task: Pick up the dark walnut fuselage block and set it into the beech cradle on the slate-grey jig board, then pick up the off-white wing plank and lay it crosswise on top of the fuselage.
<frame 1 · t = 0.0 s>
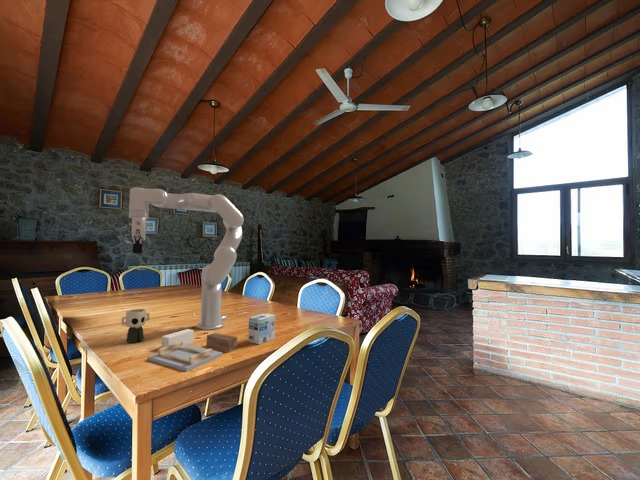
hand: (137, 252, 133), 37 cm above the table, tool pointing down, fingers open, 9 cm apart
wing plank: (178, 345, 121), on the table
jig board: (185, 357, 108), on the table
cradle: (185, 359, 107), resting on jig board
light bulb box: (261, 340, 130), on the table
character mug: (135, 341, 124), on the table
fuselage: (221, 348, 119), on the table
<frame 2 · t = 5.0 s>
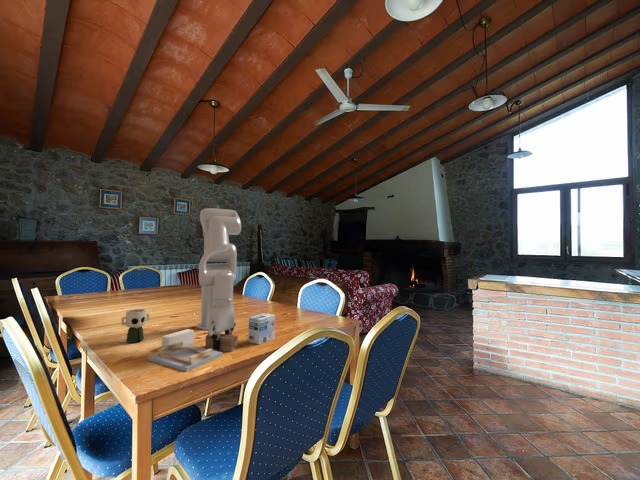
hand: (221, 346, 119), 1 cm above the table, tool pointing down, fingers closed on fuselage, 5 cm apart
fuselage: (221, 348, 119), on the table, touching gripper
everything else where it was.
when the fingers open (3 cm above the table, at t = 9.8 s): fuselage drops 1 cm, resting on jig board.
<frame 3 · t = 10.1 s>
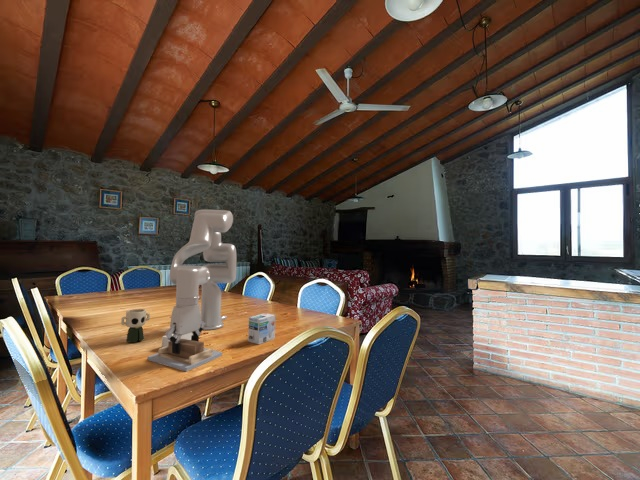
hand: (185, 349, 107), 3 cm above the table, tool pointing down, fingers open, 7 cm apart
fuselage: (185, 355, 107), point 1 cm above the table, touching jig board
everything else where it was.
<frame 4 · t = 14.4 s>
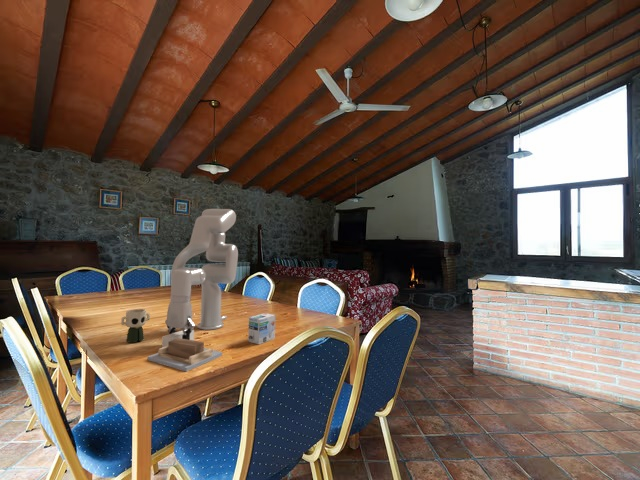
hand: (179, 342, 121), 1 cm above the table, tool pointing down, fingers open, 6 cm apart
nothing on the table moved.
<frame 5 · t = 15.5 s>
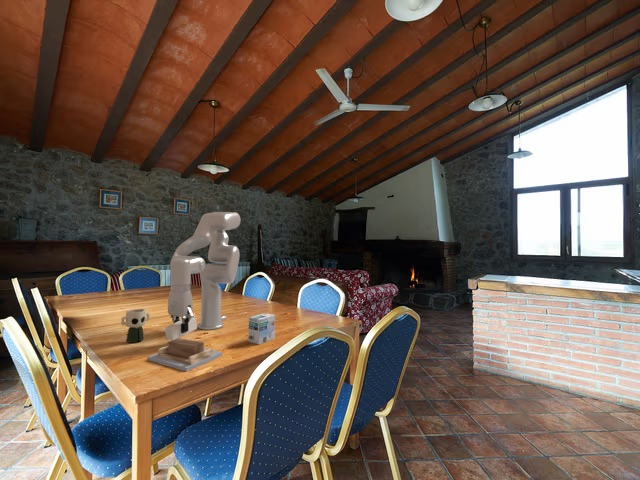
hand: (180, 330, 123), 5 cm above the table, tool pointing down, fingers closed on wing plank, 3 cm apart
wing plank: (182, 333, 124), point 4 cm above the table, tilted 9°, touching gripper
everything else where it was.
when the fingers open (8 cm above the table, at t = 19.0 s): wing plank stays where it is, resting on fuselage.
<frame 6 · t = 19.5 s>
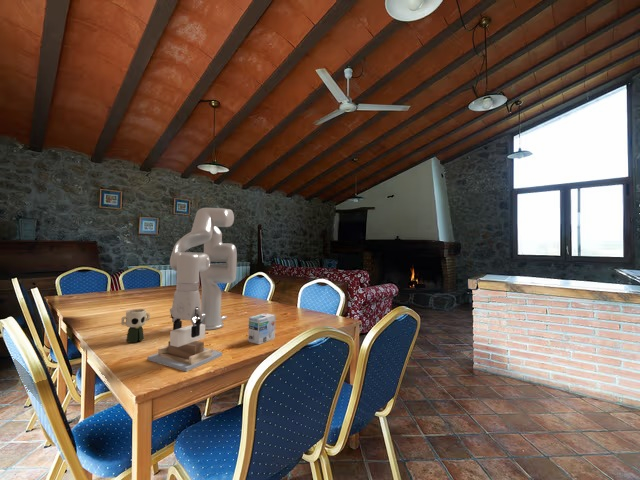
hand: (186, 334, 107), 9 cm above the table, tool pointing down, fingers open, 9 cm apart
wing plank: (188, 341, 108), point 6 cm above the table, touching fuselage
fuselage: (185, 355, 107), point 1 cm above the table, touching jig board, wing plank
everything else where it was.
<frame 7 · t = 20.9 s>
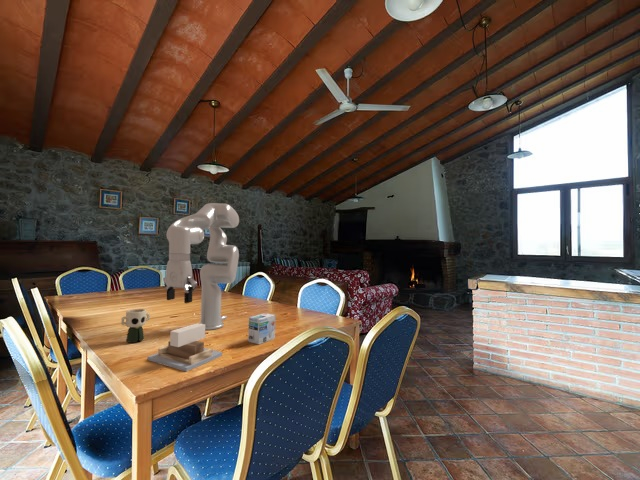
hand: (179, 301, 116), 19 cm above the table, tool pointing down, fingers open, 9 cm apart
nothing on the table moved.
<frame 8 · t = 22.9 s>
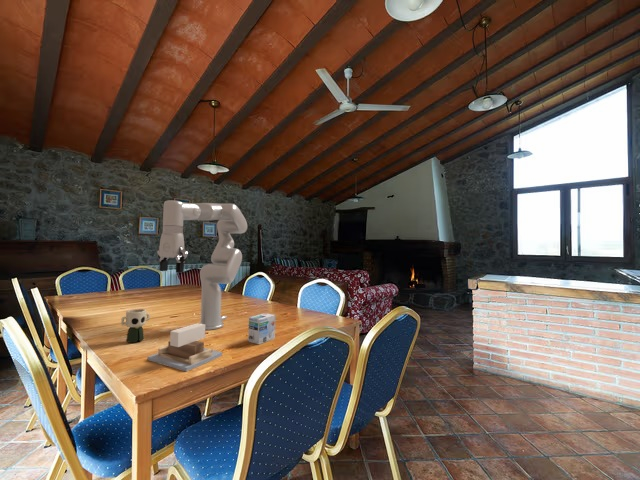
hand: (171, 271, 121), 30 cm above the table, tool pointing down, fingers open, 9 cm apart
nothing on the table moved.
at the end: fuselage 0.1 cm off-centre on the cradle, point 1.2 cm above the cradle's base; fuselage tilted 0°; wing plank inside the target area on the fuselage (0.9 cm from its centre), point 5.0 cm above the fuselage's base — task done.
